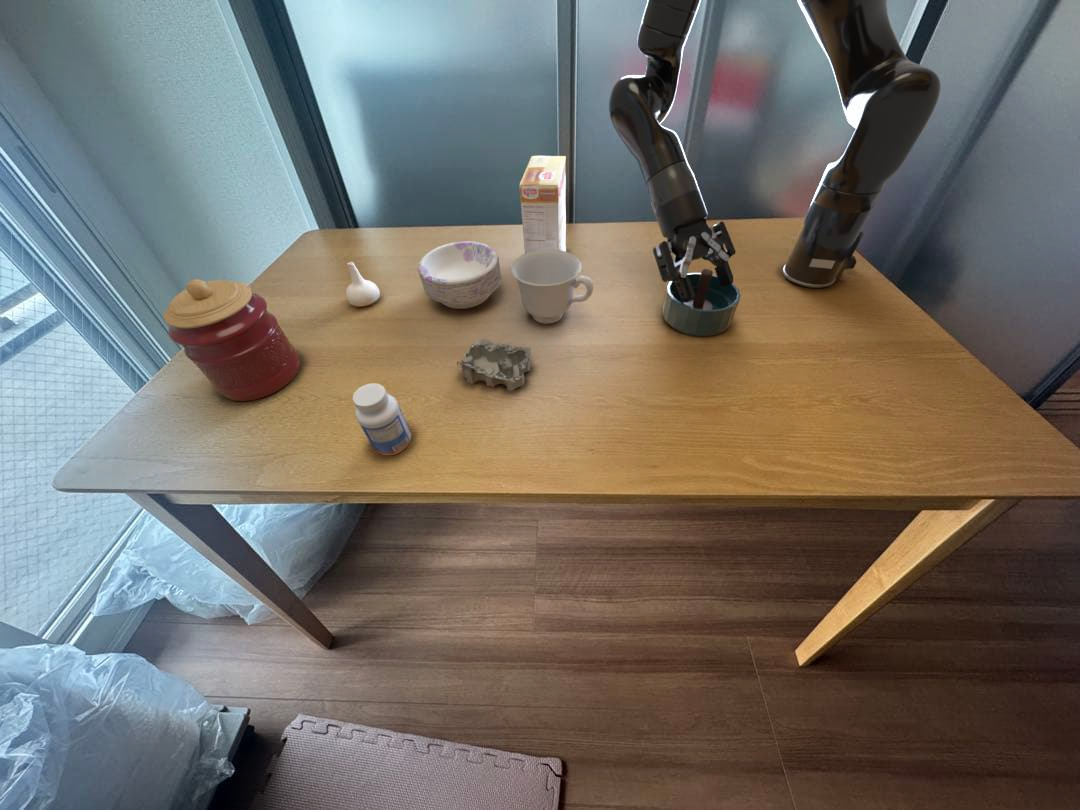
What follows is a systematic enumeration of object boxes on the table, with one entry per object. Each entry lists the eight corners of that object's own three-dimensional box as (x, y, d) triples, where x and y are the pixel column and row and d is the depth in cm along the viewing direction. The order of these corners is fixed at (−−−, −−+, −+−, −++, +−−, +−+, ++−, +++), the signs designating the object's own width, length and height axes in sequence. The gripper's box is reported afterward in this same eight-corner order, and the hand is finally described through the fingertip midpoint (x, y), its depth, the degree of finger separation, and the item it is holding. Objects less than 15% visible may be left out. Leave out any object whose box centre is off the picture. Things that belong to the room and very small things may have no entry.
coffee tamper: (702, 305, 77) (714, 262, 71) (714, 320, 74) (728, 277, 67) (676, 308, 77) (686, 266, 70) (687, 324, 73) (699, 281, 67)
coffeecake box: (536, 250, 95) (530, 155, 81) (567, 251, 94) (567, 154, 80) (525, 285, 85) (517, 184, 71) (560, 287, 84) (559, 184, 70)
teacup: (573, 347, 71) (574, 297, 64) (502, 322, 77) (496, 273, 70) (604, 311, 78) (609, 262, 71) (537, 290, 84) (535, 243, 76)
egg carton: (457, 382, 67) (452, 363, 64) (477, 352, 71) (473, 333, 68) (520, 395, 64) (517, 375, 61) (535, 363, 69) (534, 344, 66)
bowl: (712, 295, 80) (720, 269, 76) (743, 332, 72) (753, 305, 68) (652, 303, 79) (657, 277, 75) (676, 342, 71) (683, 315, 67)
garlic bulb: (357, 313, 81) (341, 276, 75) (344, 301, 84) (328, 264, 78) (387, 301, 84) (373, 264, 78) (373, 288, 87) (359, 252, 81)
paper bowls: (412, 310, 81) (400, 272, 75) (451, 271, 90) (444, 235, 85) (481, 325, 77) (474, 287, 71) (515, 283, 86) (512, 246, 80)
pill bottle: (377, 428, 61) (352, 380, 54) (414, 424, 61) (394, 376, 54) (369, 458, 57) (342, 411, 50) (409, 455, 57) (387, 407, 50)
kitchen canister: (222, 363, 72) (148, 270, 59) (301, 342, 76) (246, 249, 63) (215, 413, 64) (126, 319, 51) (303, 387, 67) (241, 292, 54)
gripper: (655, 199, 63) (692, 300, 65) (724, 178, 68) (757, 273, 69) (629, 221, 70) (663, 312, 72) (693, 201, 75) (724, 287, 76)
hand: (709, 293), depth 70 cm, fingers open, 8 cm apart
